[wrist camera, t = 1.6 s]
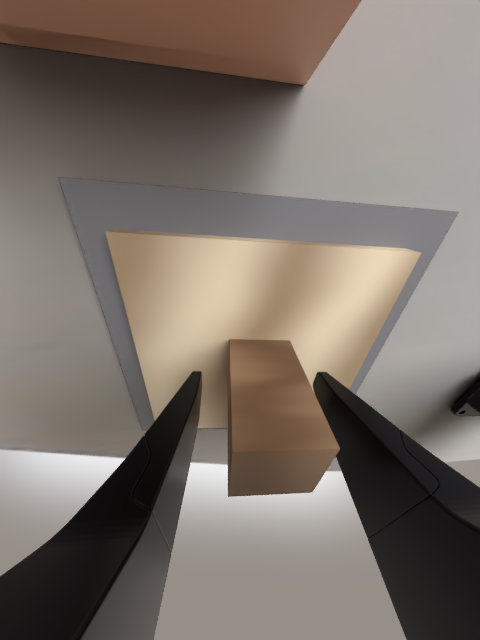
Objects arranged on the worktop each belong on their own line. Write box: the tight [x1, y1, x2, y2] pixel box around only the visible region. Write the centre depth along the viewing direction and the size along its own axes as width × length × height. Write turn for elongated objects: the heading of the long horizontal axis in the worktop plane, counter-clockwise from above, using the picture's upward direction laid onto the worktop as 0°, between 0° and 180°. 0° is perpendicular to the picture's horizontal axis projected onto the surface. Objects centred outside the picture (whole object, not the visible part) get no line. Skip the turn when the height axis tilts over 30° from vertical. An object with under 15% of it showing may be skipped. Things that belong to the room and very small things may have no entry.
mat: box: [58, 177, 459, 430], centre depth 11 cm, size 15×15×1 cm
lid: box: [106, 229, 422, 497], centre depth 9 cm, size 12×12×6 cm
